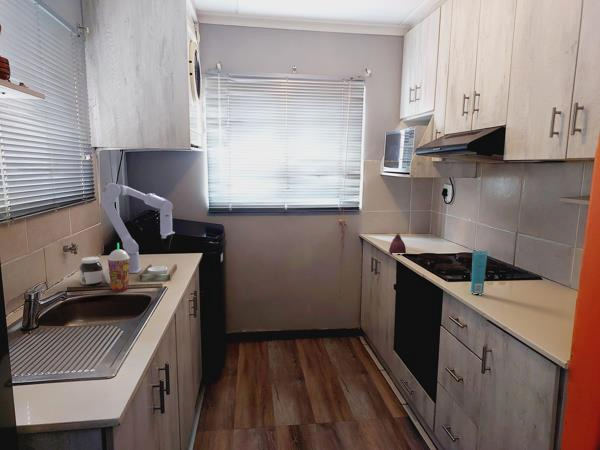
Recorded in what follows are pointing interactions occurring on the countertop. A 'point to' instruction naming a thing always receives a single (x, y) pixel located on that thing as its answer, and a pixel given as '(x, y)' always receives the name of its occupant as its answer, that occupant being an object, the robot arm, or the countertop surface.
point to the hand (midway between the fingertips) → (166, 249)
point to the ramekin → (157, 270)
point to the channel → (157, 275)
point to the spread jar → (92, 272)
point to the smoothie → (119, 269)
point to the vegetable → (397, 245)
